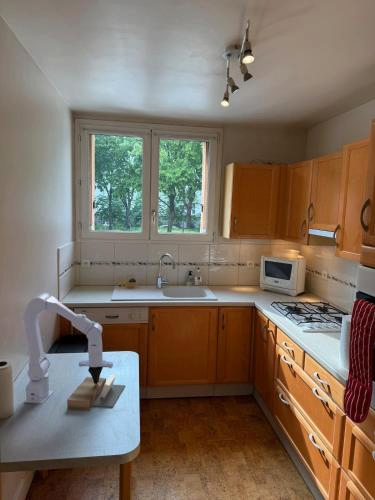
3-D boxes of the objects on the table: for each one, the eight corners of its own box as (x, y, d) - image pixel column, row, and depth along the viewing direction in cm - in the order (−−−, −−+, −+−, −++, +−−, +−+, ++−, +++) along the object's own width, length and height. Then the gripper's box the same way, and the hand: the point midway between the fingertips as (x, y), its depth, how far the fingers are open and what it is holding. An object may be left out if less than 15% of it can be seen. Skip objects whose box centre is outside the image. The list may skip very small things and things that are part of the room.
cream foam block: (100, 396, 143) (104, 398, 142) (104, 383, 142) (109, 385, 142) (107, 385, 152) (111, 387, 151) (111, 373, 151) (116, 375, 151)
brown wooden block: (89, 410, 135) (88, 401, 134) (67, 409, 136) (66, 399, 135) (106, 386, 153) (105, 378, 153) (86, 385, 154) (86, 376, 154)
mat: (112, 407, 137) (112, 406, 136) (92, 406, 138) (92, 405, 137) (125, 386, 153) (125, 385, 153) (106, 385, 154) (106, 384, 154)
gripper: (114, 349, 149) (115, 379, 150) (83, 347, 151) (84, 377, 152) (109, 356, 142) (110, 387, 143) (76, 354, 144) (77, 385, 145)
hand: (96, 382), depth 147 cm, fingers closed
